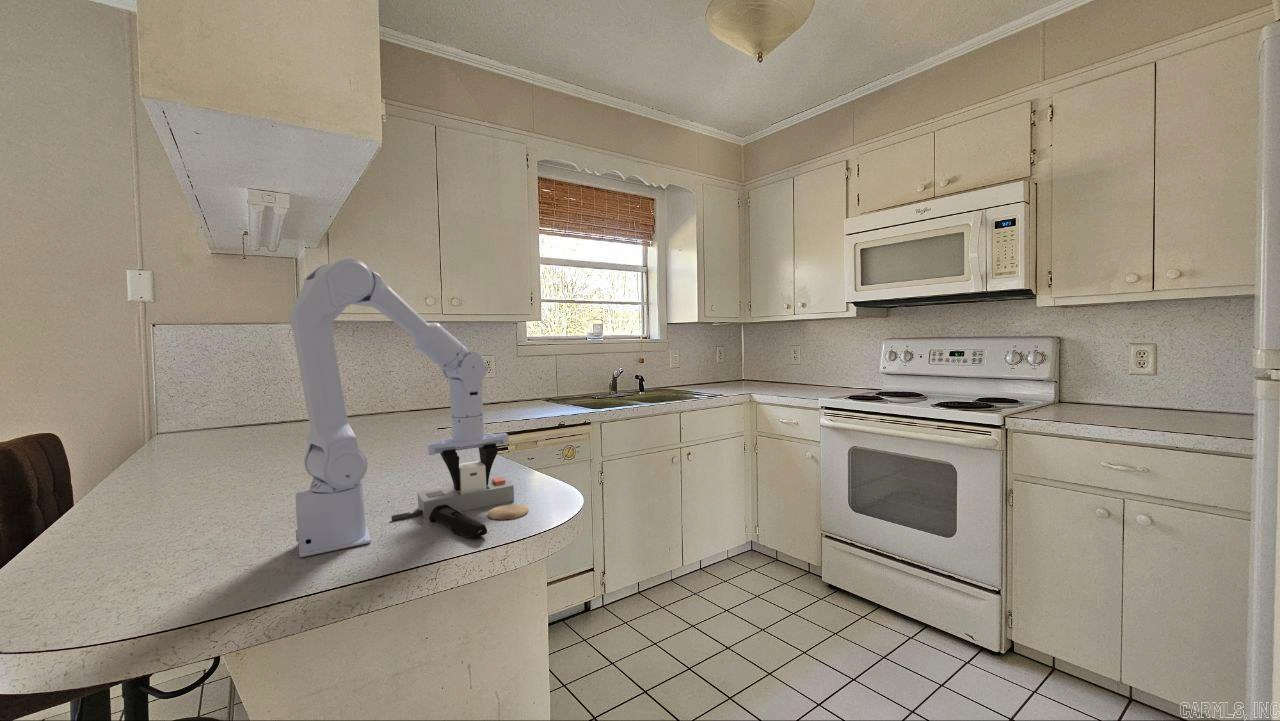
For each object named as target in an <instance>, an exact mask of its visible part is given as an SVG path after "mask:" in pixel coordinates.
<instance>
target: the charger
mask: <svg viewBox="0 0 1280 721" xmlns="http://www.w3.org/2000/svg"><path fill="white" fill-rule="evenodd" d="M459 478H460V490H459V491H457V493H458V494H464V493H470V492H475V491H481V490H486V489H487V488H486V469H485V465H484V464H483V463H481V461H480V460H476V461H475V460H474V461H468V462H461V463H459Z"/></svg>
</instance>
